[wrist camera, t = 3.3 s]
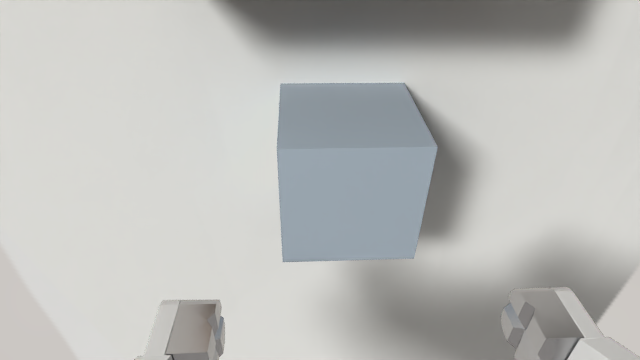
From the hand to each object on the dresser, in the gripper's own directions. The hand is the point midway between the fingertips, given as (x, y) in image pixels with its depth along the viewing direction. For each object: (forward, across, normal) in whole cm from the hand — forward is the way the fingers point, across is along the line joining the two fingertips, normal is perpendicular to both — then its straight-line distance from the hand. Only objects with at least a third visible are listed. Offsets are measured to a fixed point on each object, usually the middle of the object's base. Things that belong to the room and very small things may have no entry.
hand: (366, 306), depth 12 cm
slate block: (+9, 0, -1) cm, 9 cm away
